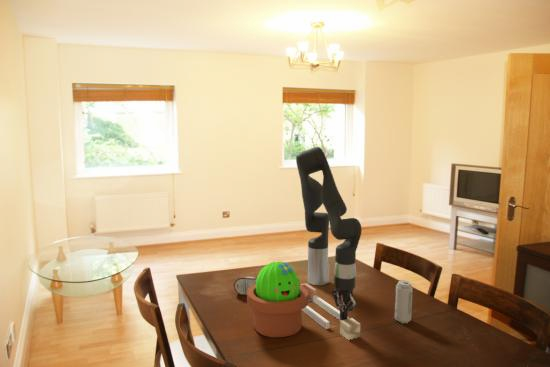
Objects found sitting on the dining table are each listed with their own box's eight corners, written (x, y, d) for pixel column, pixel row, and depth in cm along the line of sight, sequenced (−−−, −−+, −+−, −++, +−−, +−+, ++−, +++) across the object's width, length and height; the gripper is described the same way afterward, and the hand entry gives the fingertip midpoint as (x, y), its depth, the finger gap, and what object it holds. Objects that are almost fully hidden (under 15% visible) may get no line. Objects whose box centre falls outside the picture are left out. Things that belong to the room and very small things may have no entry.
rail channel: (306, 294, 188) (306, 283, 188) (348, 323, 161) (348, 310, 160) (286, 298, 184) (286, 286, 183) (325, 329, 156) (326, 316, 156)
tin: (268, 294, 188) (268, 275, 187) (267, 297, 185) (267, 278, 184) (234, 292, 190) (234, 274, 189) (233, 295, 187) (233, 276, 186)
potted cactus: (240, 318, 165) (239, 255, 161) (293, 310, 172) (293, 249, 169) (258, 346, 144) (258, 274, 141) (317, 335, 152) (318, 267, 149)
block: (351, 331, 155) (351, 317, 154) (359, 337, 151) (360, 323, 150) (339, 333, 153) (340, 320, 152) (348, 340, 149) (348, 326, 148)
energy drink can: (396, 315, 168) (398, 278, 165) (412, 319, 165) (414, 281, 163) (392, 322, 162) (394, 283, 160) (409, 325, 159) (411, 286, 157)
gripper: (365, 278, 148) (363, 326, 151) (342, 266, 160) (341, 311, 162) (347, 282, 145) (345, 330, 147) (325, 269, 156) (324, 314, 159)
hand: (343, 320), depth 155 cm, fingers closed
